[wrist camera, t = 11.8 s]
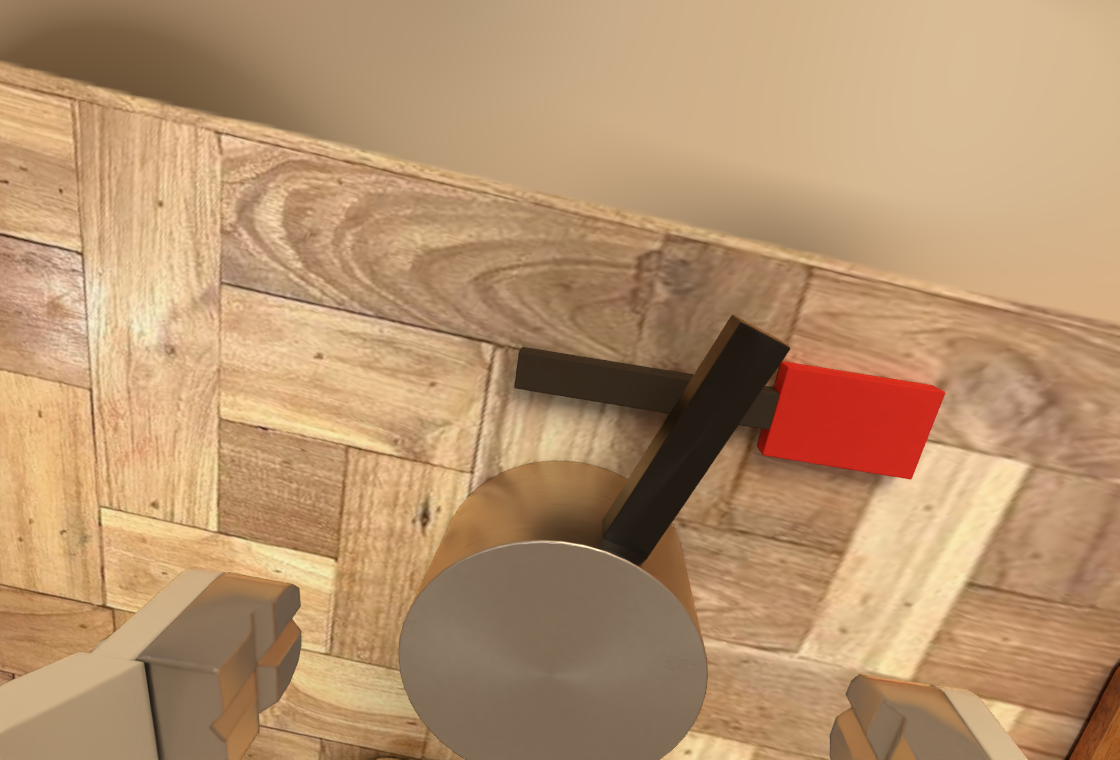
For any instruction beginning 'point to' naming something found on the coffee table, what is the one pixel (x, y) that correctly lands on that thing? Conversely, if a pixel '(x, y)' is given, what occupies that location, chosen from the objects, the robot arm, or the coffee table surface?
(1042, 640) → the coffee table surface
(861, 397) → the spatula
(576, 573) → the saucepan
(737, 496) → the coffee table surface
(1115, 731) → the wooden box
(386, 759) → the flower pot
